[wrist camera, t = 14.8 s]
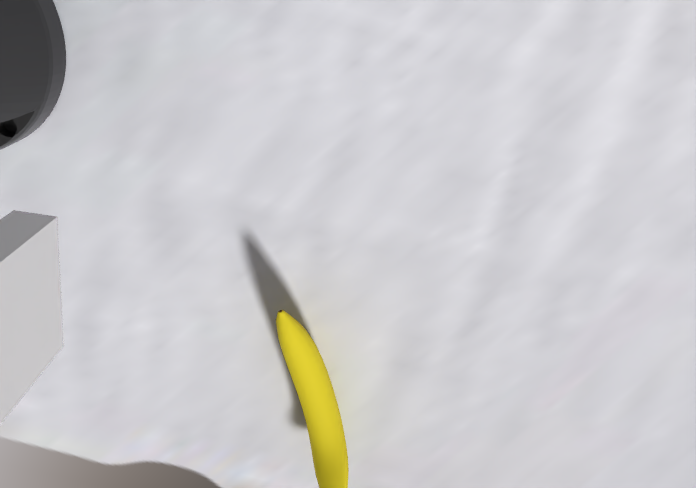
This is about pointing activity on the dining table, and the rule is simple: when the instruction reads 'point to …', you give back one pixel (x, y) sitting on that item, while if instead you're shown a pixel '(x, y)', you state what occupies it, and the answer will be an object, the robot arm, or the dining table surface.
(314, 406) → the banana
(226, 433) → the dining table surface
